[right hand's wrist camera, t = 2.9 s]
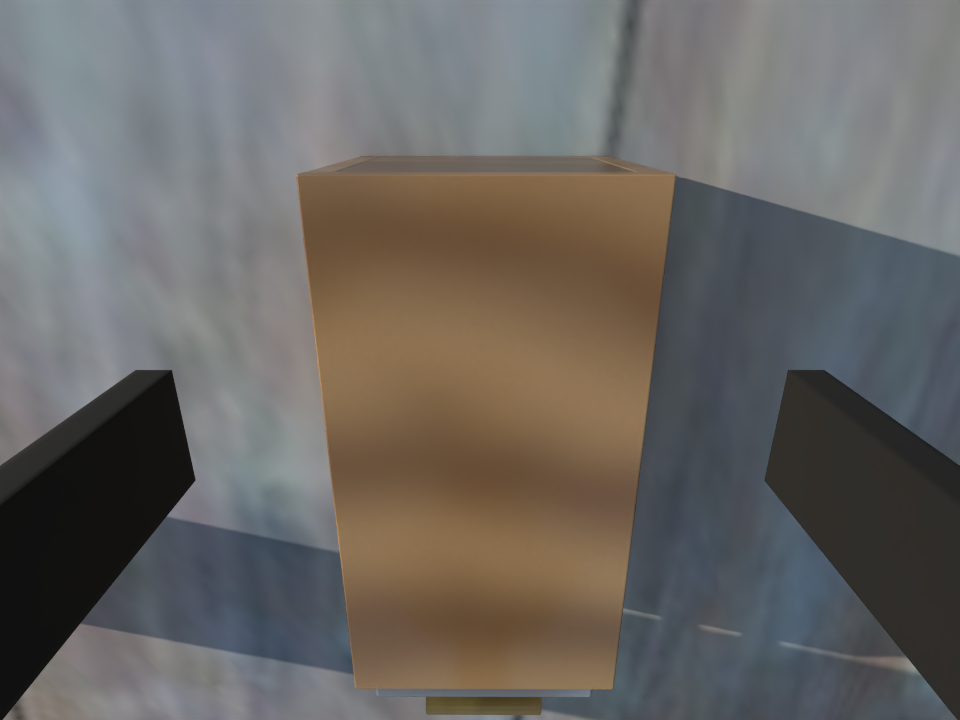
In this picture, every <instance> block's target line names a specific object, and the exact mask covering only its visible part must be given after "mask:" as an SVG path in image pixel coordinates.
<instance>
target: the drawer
mask: <svg viewBox="0 0 960 720" xmlns="http://www.w3.org/2000/svg"><path fill="white" fill-rule="evenodd" d="M376 690H377V696H382V697H426V713H427V714H428V715H540V714H541V697H591V693H592V690H573V689H376Z"/></svg>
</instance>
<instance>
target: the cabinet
mask: <svg viewBox="0 0 960 720" xmlns="http://www.w3.org/2000/svg"><path fill="white" fill-rule="evenodd" d="M296 178H297V187H298V195H299V204H300V213H301V221H302V230H303V239H304V247H305V256H306V265H307V273H308V282H309V291H310V299H311V308H312V317H313V325H314V334H315V343H316V351H317V360H318V369H319V377H320V386H321V394H322V403H323V412H324V420H325V429H326V438H327V446H328V455H329V464H330V472H331V481H332V490H333V498H334V507H335V516H336V524H337V533H338V542H339V550H340V559H341V568H342V576H343V585H344V594H345V602H346V611H347V620H348V628H349V637H350V646H351V654H352V663H353V672H354V680H355V688H356V689H573V690H612V689H613V686H614V678H615V670H616V662H617V654H618V645H619V637H620V629H621V621H622V613H623V605H624V597H625V589H626V580H627V572H628V564H629V556H630V548H631V540H632V532H633V524H634V515H635V507H636V499H637V491H638V483H639V475H640V467H641V458H642V450H643V442H644V434H645V426H646V418H647V410H648V402H649V393H650V385H651V377H652V369H653V361H654V353H655V345H656V337H657V328H658V320H659V312H660V304H661V296H662V288H663V280H664V271H665V263H666V255H667V247H668V239H669V231H670V223H671V215H672V206H673V198H674V190H675V182H676V175H675V174H672V173H669V172H665V171H661V170H658V169H654V168H650V167H646V166H643V165H639V164H635V163H632V162H628V161H624V160H621V159H617V158H613V157H609V156H361V157H358V158H355V159H351V160H347V161H344V162H340V163H337V164H333V165H330V166H326V167H323V168H319V169H316V170H312V171H309V172H304V173H300V174H297V176H296Z"/></svg>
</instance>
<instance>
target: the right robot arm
mask: <svg viewBox="0 0 960 720" xmlns="http://www.w3.org/2000/svg"><path fill="white" fill-rule="evenodd" d="M194 482H195V476H194V471H193V466H192V462H191V457H190V452H189V448H188V443H187V439H186V434H185V429H184V425H183V420H182V415H181V411H180V406H179V401H178V397H177V392H176V388H175V383H174V378H173V374H172V370H135V371H134V372H132V373H131V374H130V375H128V376H127V377H125V378H124V379H123V380H121V381H120V382H118V383H117V384H115V385H114V386H113V387H111V388H110V389H108V390H107V391H106V392H104V393H103V394H101V395H100V396H98V397H97V398H96V399H94V400H93V401H91V402H90V403H89V404H87V405H86V406H84V407H83V408H81V409H80V410H79V411H77V412H76V413H74V414H73V415H72V416H70V417H69V418H67V419H66V420H64V421H63V422H62V423H60V424H59V425H57V426H56V427H55V428H53V429H52V430H50V431H49V432H47V433H46V434H45V435H43V436H42V437H40V438H39V439H38V440H36V441H35V442H33V443H32V444H30V445H29V446H28V447H26V448H25V449H23V450H22V451H21V452H19V453H18V454H16V455H15V456H13V457H12V458H11V459H9V460H8V461H6V462H5V463H4V464H2V465H1V466H0V720H3V719H4V717H5V716H6V715H7V714H8V712H9V711H10V710H11V709H12V707H13V706H14V705H15V704H16V702H17V701H18V700H19V699H20V697H21V696H22V695H23V694H24V692H25V691H26V690H27V689H28V688H29V686H30V685H31V684H32V683H33V681H34V680H35V679H36V678H37V676H38V675H39V674H40V673H41V671H42V670H43V669H44V668H45V666H46V665H47V664H48V663H49V661H50V660H51V659H52V658H53V657H54V655H55V654H56V653H57V652H58V650H59V649H60V648H61V647H62V645H63V644H64V643H65V642H66V640H67V639H68V638H69V637H70V635H71V634H72V633H73V632H74V630H75V629H76V628H77V627H78V625H79V624H80V623H81V622H82V621H83V619H84V618H85V617H86V616H87V614H88V613H89V612H90V611H91V609H92V608H93V607H94V606H95V604H96V603H97V602H98V601H99V599H100V598H101V597H102V596H103V594H104V593H105V592H106V591H107V589H108V588H109V587H110V586H111V585H112V583H113V582H114V581H115V580H116V578H117V577H118V576H119V575H120V573H121V572H122V571H123V570H124V568H125V567H126V566H127V565H128V563H129V562H130V561H131V560H132V558H133V557H134V556H135V555H136V553H137V552H138V551H139V550H140V549H141V547H142V546H143V545H144V544H145V542H146V541H147V540H148V539H149V537H150V536H151V535H152V534H153V532H154V531H155V530H156V529H157V527H158V526H159V525H160V524H161V522H162V521H163V520H164V519H165V518H166V516H167V515H168V514H169V513H170V511H171V510H172V509H173V508H174V506H175V505H176V504H177V503H178V501H179V500H180V499H181V498H182V496H183V495H184V494H185V493H186V491H187V490H188V489H189V488H190V486H191V485H192V484H193V483H194ZM765 482H766V483H767V484H768V485H769V486H770V488H771V489H772V490H773V491H774V493H775V494H776V495H777V496H778V498H779V499H780V500H781V501H782V503H783V504H784V505H785V506H786V508H787V509H788V510H789V511H790V513H791V514H792V515H793V516H794V518H795V519H796V520H797V521H798V522H799V524H800V525H801V526H802V527H803V529H804V530H805V531H806V532H807V534H808V535H809V536H810V537H811V539H812V540H813V541H814V542H815V544H816V545H817V546H818V547H819V549H820V550H821V551H822V552H823V553H824V555H825V556H826V557H827V558H828V560H829V561H830V562H831V563H832V565H833V566H834V567H835V568H836V570H837V571H838V572H839V573H840V575H841V576H842V577H843V578H844V580H845V581H846V582H847V583H848V585H849V586H850V587H851V588H852V589H853V591H854V592H855V593H856V594H857V596H858V597H859V598H860V599H861V601H862V602H863V603H864V604H865V606H866V607H867V608H868V609H869V611H870V612H871V613H872V614H873V616H874V617H875V618H876V619H877V621H878V622H879V623H880V624H881V625H882V627H883V628H884V629H885V630H886V632H887V633H888V634H889V635H890V637H891V638H892V639H893V640H894V642H895V643H896V644H897V645H898V647H899V648H900V649H901V650H902V652H903V653H904V654H905V655H906V657H907V658H908V659H909V660H910V661H911V663H912V664H913V665H914V666H915V668H916V669H917V670H918V671H919V673H920V674H921V675H922V676H923V678H924V679H925V680H926V681H927V683H928V684H929V685H930V686H931V688H932V689H933V690H934V691H935V692H936V694H937V695H938V696H939V697H940V699H941V700H942V701H943V702H944V704H945V705H946V706H947V707H948V709H949V710H950V711H951V712H952V714H953V715H954V716H955V717H956V719H957V720H960V466H959V465H958V464H956V463H955V462H954V461H952V460H951V459H949V458H948V457H947V456H945V455H944V454H942V453H941V452H939V451H938V450H937V449H935V448H934V447H932V446H931V445H930V444H928V443H927V442H925V441H924V440H922V439H921V438H920V437H918V436H917V435H915V434H914V433H913V432H911V431H910V430H908V429H907V428H905V427H904V426H903V425H901V424H900V423H898V422H897V421H896V420H894V419H893V418H891V417H890V416H888V415H887V414H886V413H884V412H883V411H881V410H880V409H879V408H877V407H876V406H874V405H873V404H871V403H870V402H869V401H867V400H866V399H864V398H863V397H862V396H860V395H859V394H857V393H856V392H854V391H853V390H852V389H850V388H849V387H847V386H846V385H845V384H843V383H842V382H840V381H839V380H837V379H836V378H835V377H833V376H832V375H830V374H829V373H828V372H826V371H825V370H788V374H787V378H786V383H785V388H784V392H783V397H782V401H781V406H780V411H779V415H778V420H777V425H776V429H775V434H774V439H773V443H772V448H771V452H770V457H769V462H768V466H767V471H766V476H765Z"/></svg>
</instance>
